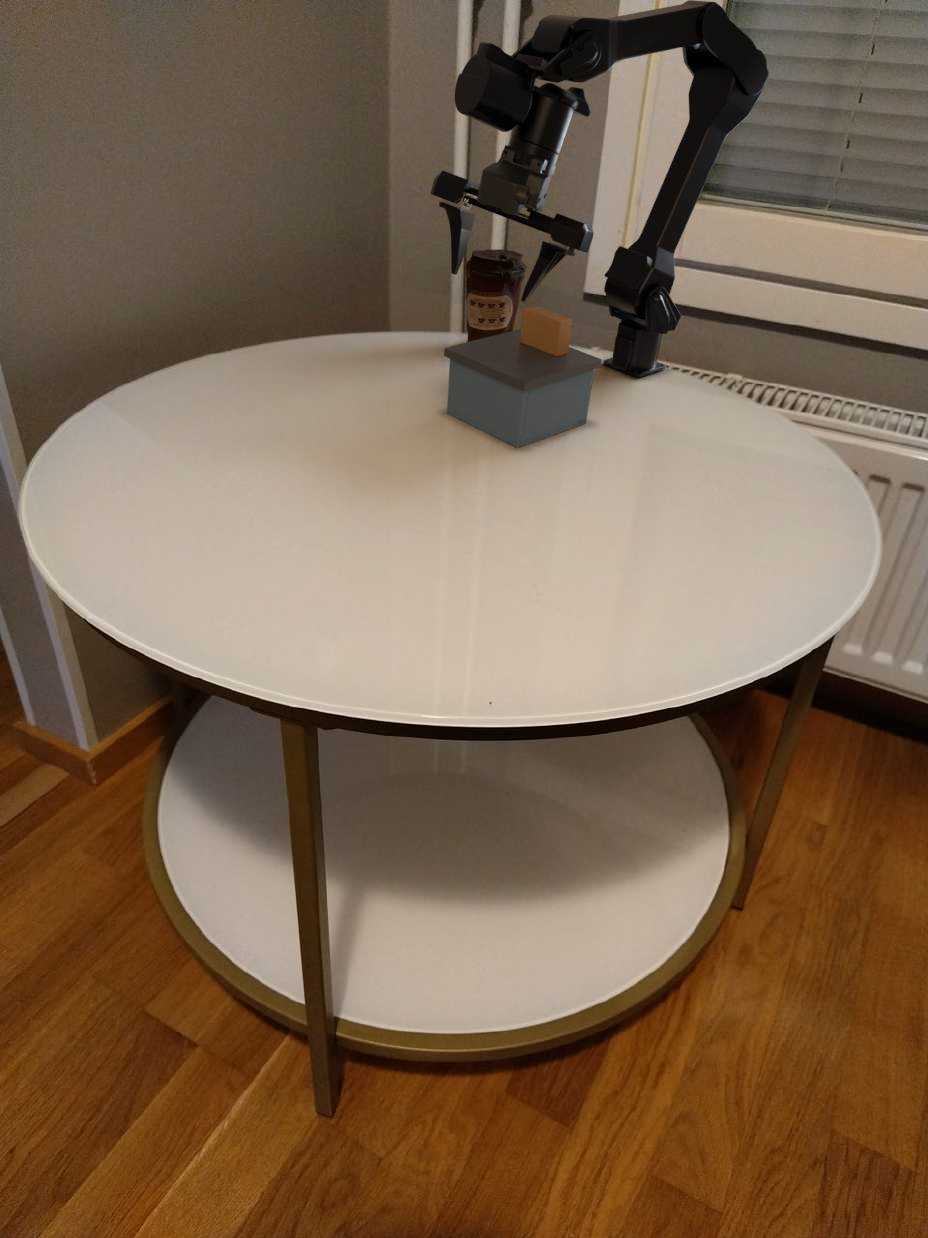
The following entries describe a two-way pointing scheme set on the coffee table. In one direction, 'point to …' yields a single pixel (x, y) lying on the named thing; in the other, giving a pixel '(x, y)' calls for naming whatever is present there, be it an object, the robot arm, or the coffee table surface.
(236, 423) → the coffee table surface
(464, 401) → the bin
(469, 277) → the coffee cup
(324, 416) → the coffee table surface
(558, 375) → the lid
